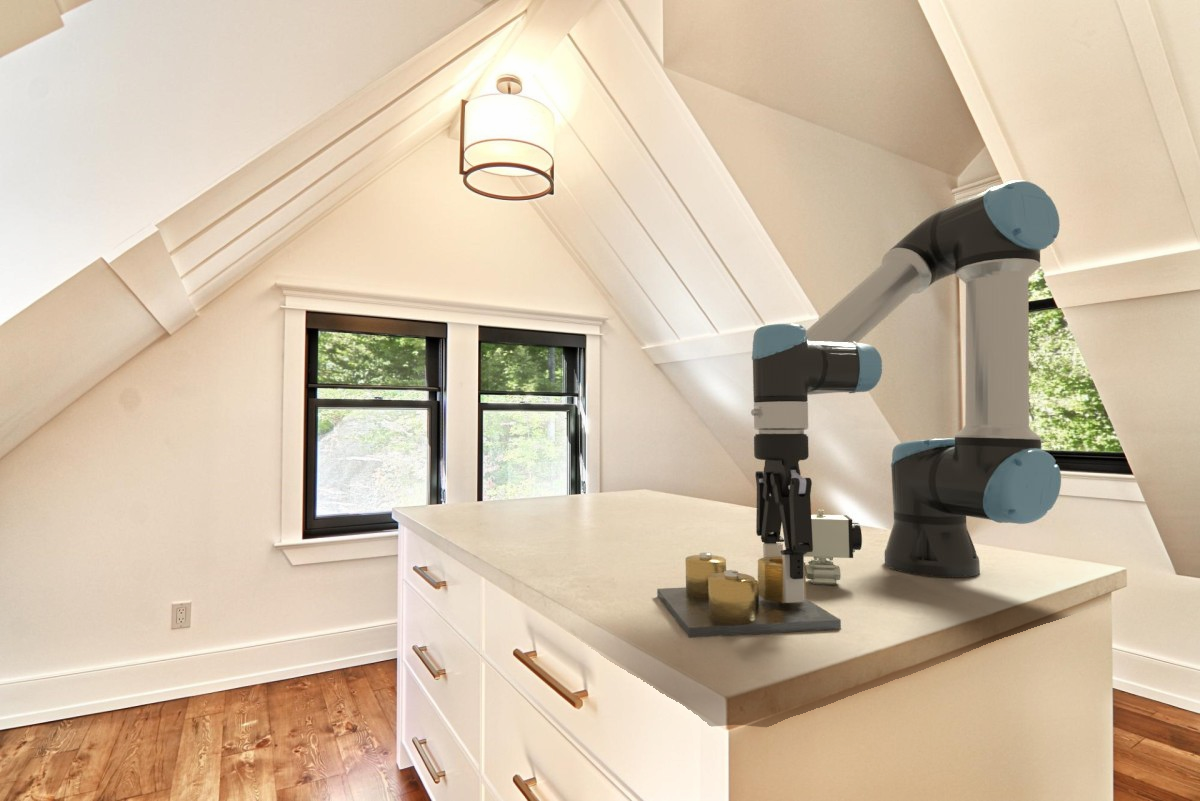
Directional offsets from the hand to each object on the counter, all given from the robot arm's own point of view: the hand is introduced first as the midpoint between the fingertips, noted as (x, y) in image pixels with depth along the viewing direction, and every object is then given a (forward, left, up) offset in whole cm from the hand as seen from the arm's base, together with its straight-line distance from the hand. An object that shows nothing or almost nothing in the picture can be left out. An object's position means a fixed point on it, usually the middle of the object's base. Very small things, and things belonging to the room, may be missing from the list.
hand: (783, 594), depth 85 cm
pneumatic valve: (-13, -13, -2) cm, 18 cm away
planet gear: (0, 0, 0) cm, 0 cm away
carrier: (+6, 0, -2) cm, 7 cm away
